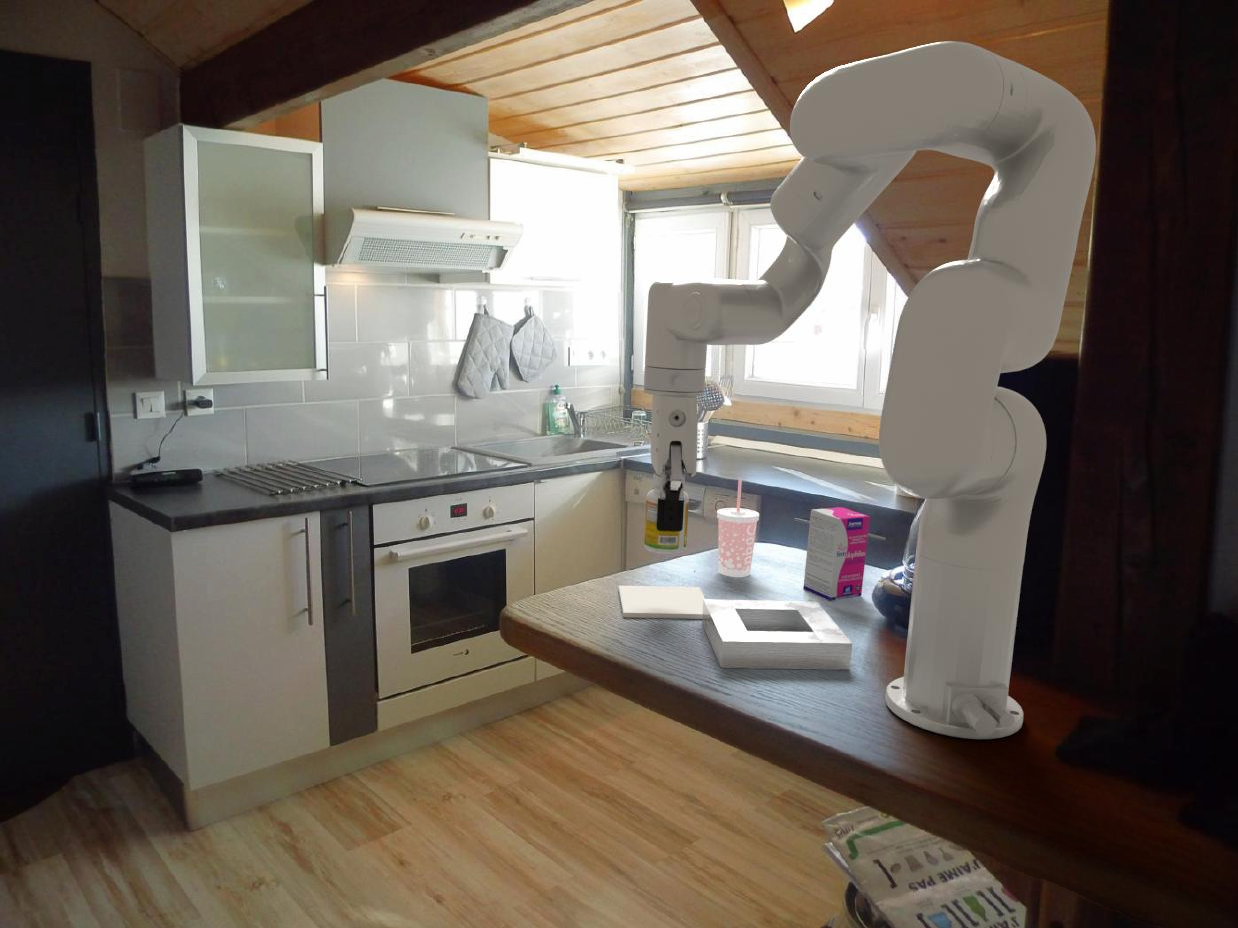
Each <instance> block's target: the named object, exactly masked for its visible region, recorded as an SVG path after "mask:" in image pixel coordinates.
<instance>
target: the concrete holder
mask: <svg viewBox="0 0 1238 928" xmlns="http://www.w3.org/2000/svg"><path fill="white" fill-rule="evenodd" d="M701 624H702V626H703V628H704V631H705V633H706V636H707V639H708V641H709V643H710V645H711V648H712V650H713V652H714V654H715V657H716V659H717V661H718V664H719V667H720V668H721V669H761V670H762V669H764V670H765V669H767V670H768V669H773V670H779V669H781V670H825V671H826V670H827V671H828V670H829V671H831V670H834V671H835V670H836V671H838V670H839V671H850V670H851V663H852V662H851V661H852V649H853V642H852V641H851V640H850V639H849V638H848V637H847V636H846V634H845V633H844V632H843V631H842V629H841V628H840V627H839V626H838V625H837V623H836V622H835V621H834V619H832V617H830V615H829V614H828V613H827V612H826V610H824V608H823V607H822V606H821V604H820V603H819V602H818V601H814V600H813V601H809V600H808V601H805V600H804V601H803V600H800V601H799V600H758V599H757V600H754V599H751V600H749V599H748V600H747V599H708V598H705V599H703V614H702V619H701Z"/></svg>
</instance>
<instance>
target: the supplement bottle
mask: <svg viewBox="0 0 1238 928" xmlns="http://www.w3.org/2000/svg"><path fill="white" fill-rule="evenodd" d="M665 474H670V472H665ZM652 477H653V478H652V485H653V486H654V487H653V488H654V489H653V488H652V489H650V490H649V491H648V492H647V493H646V499H645V500H646V501H645V519H644V520H645V522H644V523H645V524H644V539H643V541H644V544H643V545H644V548H645V550H647V551H649V552H651V553H655V554H656V553H657V554H663V555H675V554H681V553H683V552H685V550H686V549H687V543H688V542H687V541H688V522H689V508H690V506H689V505H690V497H689V494H688V492H686V491H685V490H684V496H683V499H684V512H683V529H682V530H681V531H659V530H657V527H656V525H657V506H658V498H660V488H661V477H660V475H659V474H658V473H655V472H654V473H653V475H652ZM685 479H686V475H685V474H684V485H685V484H686V482H685ZM667 481H670V480H666V483H667Z"/></svg>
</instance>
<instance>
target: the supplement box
mask: <svg viewBox="0 0 1238 928" xmlns="http://www.w3.org/2000/svg"><path fill="white" fill-rule="evenodd" d="M870 518H871V517H870V515H867V514H864V513H861V512H857V511H854V510H851V509H848V508H846V507H843V506H837V507H826V508H817V509H815V508H813V509H810V519H809V529H808V537H807V538H808V539H807V547H806V557H805V567H804V579H803V587H802V589H803V591H806V592H807V593H811V594H813V595H816V596H818V597H820V598H822V599H823V600H827V601H836V600H842V599H849V598H859V597H862V593H863V586H864V585H863V583H864V575H865V565H866V557H867V556H866V555H867V547H868V546H867V545H868V538H869V528H870V521H871V520H870Z"/></svg>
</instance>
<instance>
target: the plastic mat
mask: <svg viewBox="0 0 1238 928" xmlns="http://www.w3.org/2000/svg"><path fill="white" fill-rule="evenodd" d="M618 594H619V601H620V606H621V611H622V616H623V618H642V619H650V618H651V619H686V620H687V619H688V620H689V619H694V620H697V619H698V620H699V619H701V620H702V614H703V599H706V598H705V596H704V593H703V591H702V589H701V587H700V586H659V585H657V586H656V585H655V586H654V585H618Z"/></svg>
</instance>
